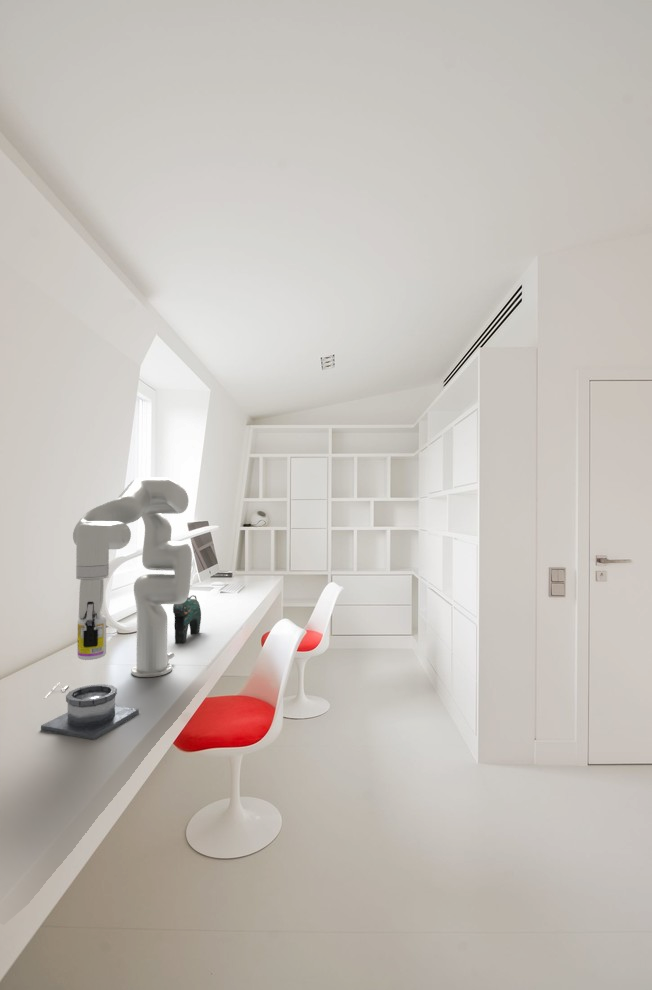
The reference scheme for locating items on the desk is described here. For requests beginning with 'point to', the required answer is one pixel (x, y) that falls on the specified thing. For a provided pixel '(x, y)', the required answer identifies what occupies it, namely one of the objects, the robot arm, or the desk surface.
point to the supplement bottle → (100, 649)
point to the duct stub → (90, 713)
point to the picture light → (55, 687)
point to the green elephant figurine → (186, 619)
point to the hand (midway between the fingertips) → (92, 642)
